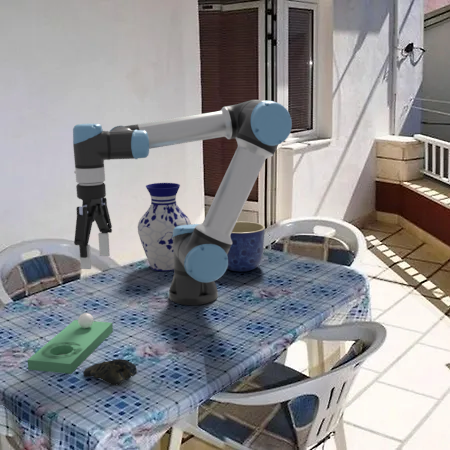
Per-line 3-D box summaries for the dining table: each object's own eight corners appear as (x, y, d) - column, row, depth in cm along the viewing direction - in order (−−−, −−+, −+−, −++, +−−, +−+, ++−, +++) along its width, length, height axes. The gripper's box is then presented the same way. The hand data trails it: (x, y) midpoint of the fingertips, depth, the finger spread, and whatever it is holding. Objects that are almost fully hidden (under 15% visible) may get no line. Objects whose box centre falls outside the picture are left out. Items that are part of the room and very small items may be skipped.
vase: (198, 261, 229) (196, 181, 222) (183, 277, 211) (180, 191, 204) (150, 258, 234) (146, 180, 227) (131, 273, 216) (127, 189, 209)
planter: (266, 275, 212) (266, 232, 209) (216, 275, 213) (216, 233, 209) (263, 261, 229) (263, 221, 225) (218, 261, 229) (217, 221, 225)
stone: (93, 369, 146) (91, 348, 145) (143, 376, 142) (142, 355, 141) (77, 382, 140) (75, 360, 139) (129, 390, 136) (127, 368, 134)
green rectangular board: (75, 328, 169) (74, 319, 169) (112, 331, 167) (112, 322, 166) (28, 369, 145) (27, 359, 145) (71, 373, 143) (70, 364, 142)
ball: (96, 325, 165) (95, 311, 164) (90, 331, 161) (89, 317, 160) (82, 324, 165) (81, 310, 164) (76, 330, 162) (75, 315, 161)
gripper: (96, 175, 175) (100, 249, 180) (56, 190, 152) (62, 274, 157) (121, 176, 173) (124, 250, 178) (84, 191, 150) (89, 276, 156)
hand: (95, 262), depth 168 cm, fingers open, 11 cm apart
